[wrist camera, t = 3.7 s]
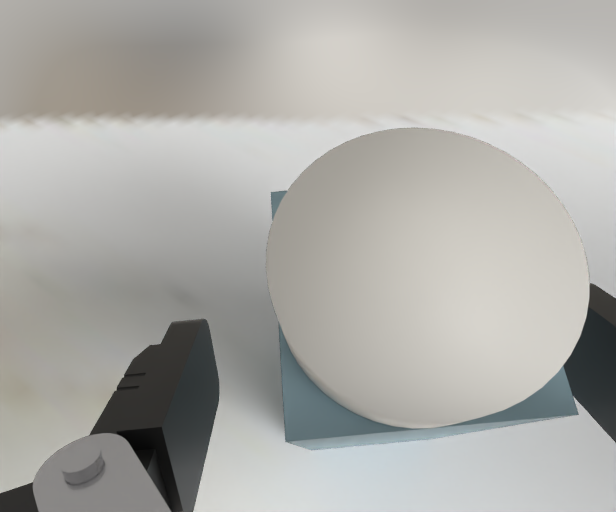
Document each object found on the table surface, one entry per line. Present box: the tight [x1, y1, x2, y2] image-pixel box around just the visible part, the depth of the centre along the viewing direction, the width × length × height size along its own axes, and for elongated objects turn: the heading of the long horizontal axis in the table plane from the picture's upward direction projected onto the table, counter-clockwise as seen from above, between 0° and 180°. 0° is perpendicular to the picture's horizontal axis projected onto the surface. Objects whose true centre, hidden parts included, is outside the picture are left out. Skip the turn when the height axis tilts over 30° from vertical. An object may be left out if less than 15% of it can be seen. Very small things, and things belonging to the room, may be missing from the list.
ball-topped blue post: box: [266, 128, 589, 450], centre depth 12 cm, size 4×4×12 cm
